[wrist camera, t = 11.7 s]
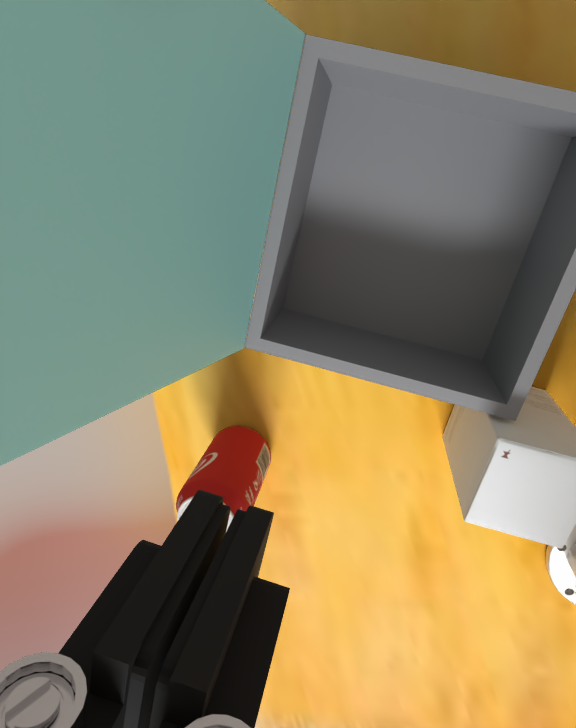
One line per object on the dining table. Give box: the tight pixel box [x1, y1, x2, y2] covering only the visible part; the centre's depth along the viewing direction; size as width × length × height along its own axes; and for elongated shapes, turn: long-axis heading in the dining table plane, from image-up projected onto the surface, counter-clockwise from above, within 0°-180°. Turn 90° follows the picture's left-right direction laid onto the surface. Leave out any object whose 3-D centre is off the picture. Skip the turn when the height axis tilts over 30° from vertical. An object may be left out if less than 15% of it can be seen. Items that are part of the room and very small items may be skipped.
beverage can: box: [176, 426, 271, 532], centre depth 46 cm, size 6×6×12 cm
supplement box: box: [443, 386, 576, 548], centre depth 39 cm, size 7×7×13 cm
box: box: [245, 35, 576, 421], centre depth 36 cm, size 20×20×10 cm
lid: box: [0, 0, 305, 466], centre depth 24 cm, size 20×20×1 cm
